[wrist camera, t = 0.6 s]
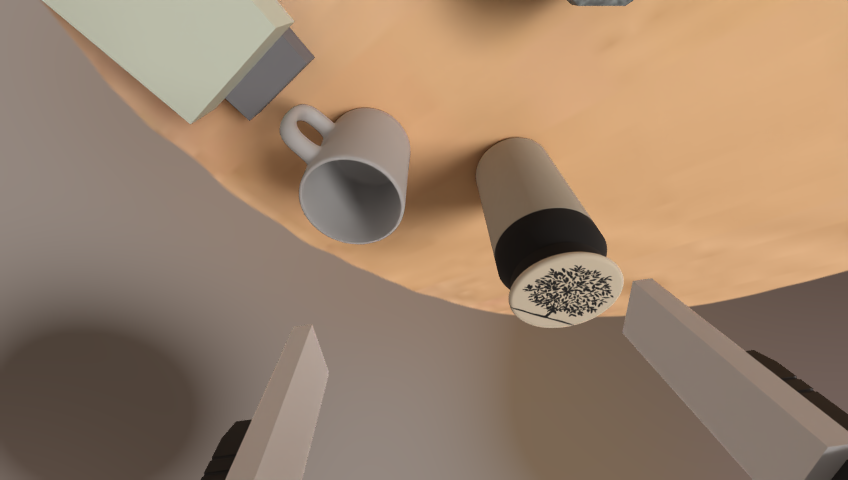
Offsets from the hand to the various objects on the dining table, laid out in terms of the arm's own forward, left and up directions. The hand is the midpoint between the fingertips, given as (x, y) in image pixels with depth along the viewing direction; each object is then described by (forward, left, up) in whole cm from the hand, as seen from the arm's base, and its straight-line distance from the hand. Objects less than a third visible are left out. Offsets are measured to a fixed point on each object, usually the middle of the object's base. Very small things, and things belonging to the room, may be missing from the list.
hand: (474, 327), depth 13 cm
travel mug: (-3, +9, -25) cm, 26 cm away
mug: (+8, -4, -25) cm, 26 cm away
